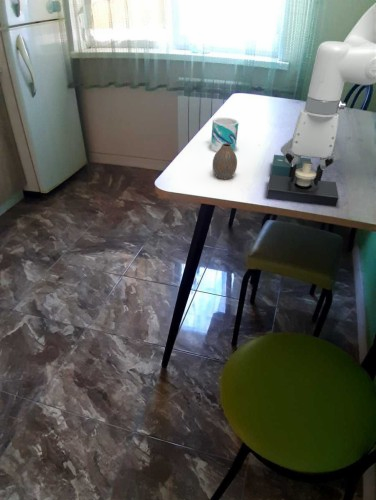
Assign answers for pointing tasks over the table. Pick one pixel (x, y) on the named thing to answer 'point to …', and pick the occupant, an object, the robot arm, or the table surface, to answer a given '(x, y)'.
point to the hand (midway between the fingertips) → (303, 180)
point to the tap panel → (284, 165)
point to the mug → (224, 133)
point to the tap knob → (292, 156)
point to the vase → (225, 162)
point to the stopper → (305, 174)
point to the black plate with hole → (302, 191)
